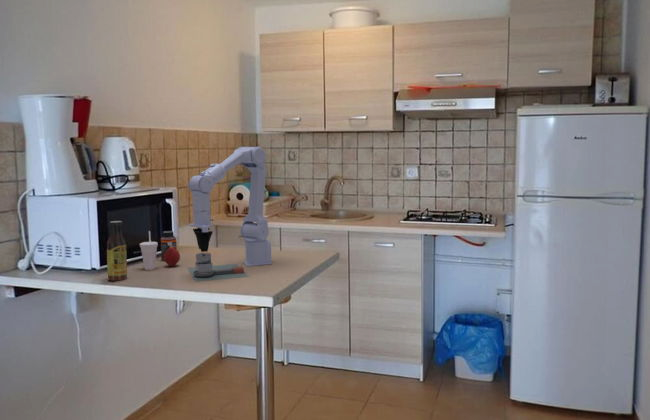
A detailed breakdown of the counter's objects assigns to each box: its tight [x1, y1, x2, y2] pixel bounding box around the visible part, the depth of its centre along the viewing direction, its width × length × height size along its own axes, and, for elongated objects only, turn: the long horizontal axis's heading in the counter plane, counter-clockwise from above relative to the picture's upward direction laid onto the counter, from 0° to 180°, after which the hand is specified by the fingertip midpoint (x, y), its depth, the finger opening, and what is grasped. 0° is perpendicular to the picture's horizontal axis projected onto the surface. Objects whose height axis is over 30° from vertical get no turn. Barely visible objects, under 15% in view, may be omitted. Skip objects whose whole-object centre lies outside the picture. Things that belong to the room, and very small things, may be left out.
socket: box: [194, 252, 213, 273], centre depth 195 cm, size 5×5×6 cm
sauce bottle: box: [106, 220, 128, 282], centre depth 192 cm, size 7×6×20 cm
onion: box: [163, 246, 181, 267], centre depth 211 cm, size 6×6×8 cm
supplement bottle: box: [160, 230, 178, 262], centre depth 223 cm, size 6×6×11 cm
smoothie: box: [139, 230, 159, 271], centre depth 207 cm, size 6×6×14 cm
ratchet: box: [194, 265, 245, 278], centre depth 197 cm, size 17×7×4 cm, turn 110°
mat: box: [187, 263, 249, 282], centre depth 201 cm, size 18×22×1 cm
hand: (203, 250), depth 195 cm, fingers open, 5 cm apart
